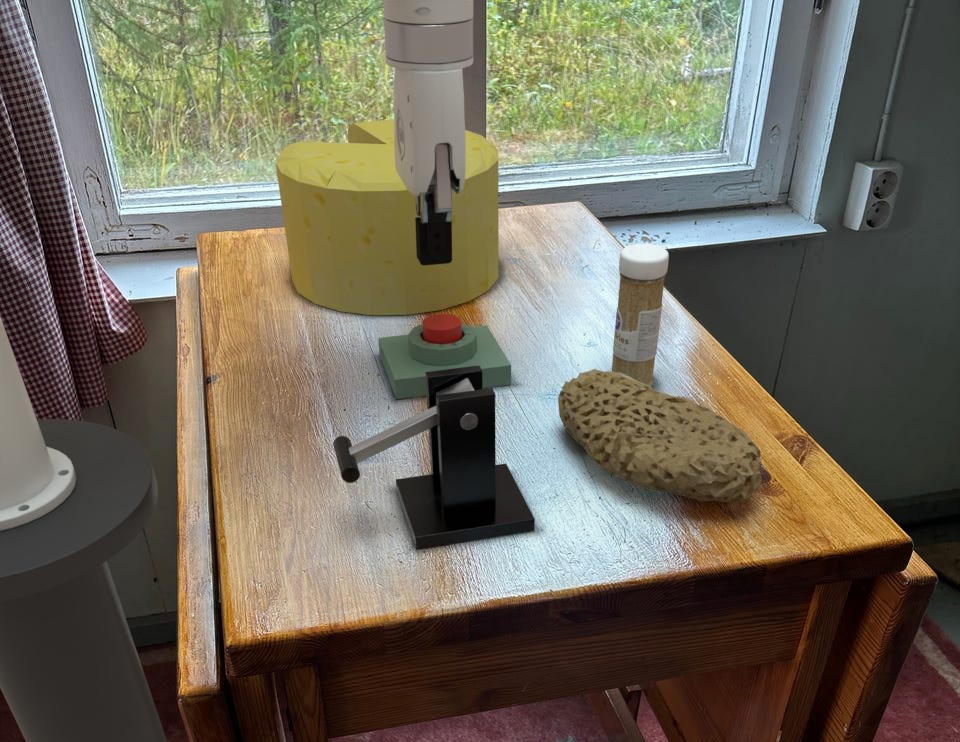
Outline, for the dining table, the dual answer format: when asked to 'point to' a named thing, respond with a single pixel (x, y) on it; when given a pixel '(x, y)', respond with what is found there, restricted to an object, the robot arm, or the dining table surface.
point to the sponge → (659, 438)
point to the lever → (387, 437)
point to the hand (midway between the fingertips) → (434, 261)
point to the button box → (441, 359)
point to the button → (442, 329)
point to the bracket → (462, 471)
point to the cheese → (382, 226)
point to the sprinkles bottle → (639, 310)
